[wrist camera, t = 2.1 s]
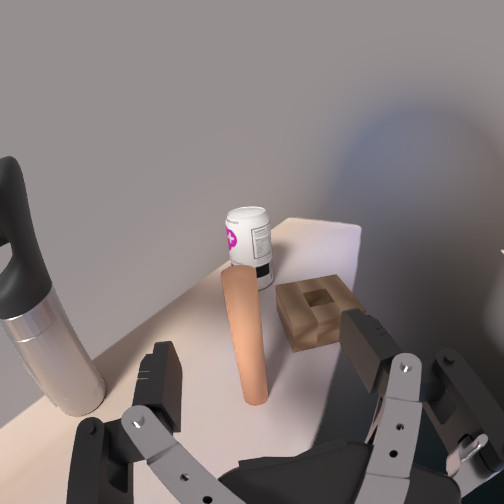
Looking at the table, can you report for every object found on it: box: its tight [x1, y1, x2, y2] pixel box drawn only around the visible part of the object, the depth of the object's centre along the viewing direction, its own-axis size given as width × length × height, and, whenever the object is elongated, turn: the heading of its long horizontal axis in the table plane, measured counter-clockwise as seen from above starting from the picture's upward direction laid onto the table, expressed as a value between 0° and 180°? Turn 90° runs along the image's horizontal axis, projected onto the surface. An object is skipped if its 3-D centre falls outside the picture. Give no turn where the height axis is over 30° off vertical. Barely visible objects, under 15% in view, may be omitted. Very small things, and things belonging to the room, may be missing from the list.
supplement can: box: [226, 207, 274, 290], centre depth 53 cm, size 8×8×15 cm
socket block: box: [276, 274, 366, 352], centre depth 42 cm, size 11×11×5 cm
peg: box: [221, 265, 268, 406], centre depth 27 cm, size 3×3×18 cm
